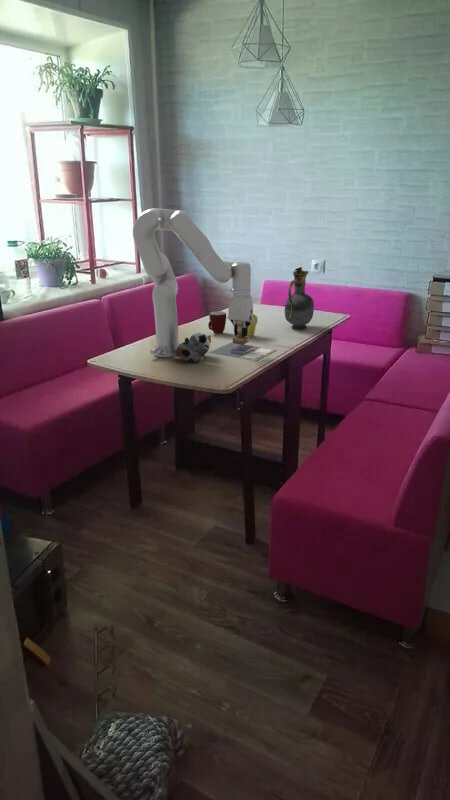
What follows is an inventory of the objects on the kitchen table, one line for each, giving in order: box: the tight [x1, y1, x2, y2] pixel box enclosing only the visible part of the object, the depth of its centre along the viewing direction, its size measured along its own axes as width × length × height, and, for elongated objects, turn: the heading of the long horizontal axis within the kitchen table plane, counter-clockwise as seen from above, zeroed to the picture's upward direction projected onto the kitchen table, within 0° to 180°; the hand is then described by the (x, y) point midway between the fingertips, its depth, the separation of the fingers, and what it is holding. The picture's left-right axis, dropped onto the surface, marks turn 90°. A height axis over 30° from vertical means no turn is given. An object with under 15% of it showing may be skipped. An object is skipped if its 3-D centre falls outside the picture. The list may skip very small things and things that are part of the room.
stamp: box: [232, 320, 250, 345], centre depth 253 cm, size 5×5×11 cm
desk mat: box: [207, 342, 277, 363], centre depth 256 cm, size 18×24×1 cm
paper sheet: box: [239, 346, 277, 361], centre depth 252 cm, size 17×8×1 cm, turn 146°
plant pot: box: [247, 313, 258, 339], centre depth 279 cm, size 10×10×10 cm
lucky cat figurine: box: [173, 332, 212, 364], centre depth 247 cm, size 15×12×14 cm
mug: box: [208, 310, 227, 335], centre depth 284 cm, size 10×8×10 cm
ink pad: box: [230, 344, 255, 355], centre depth 256 cm, size 9×7×2 cm
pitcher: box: [284, 266, 315, 331], centre depth 286 cm, size 11×19×30 cm, turn 147°
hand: (240, 335), depth 254 cm, fingers closed on stamp, 3 cm apart
